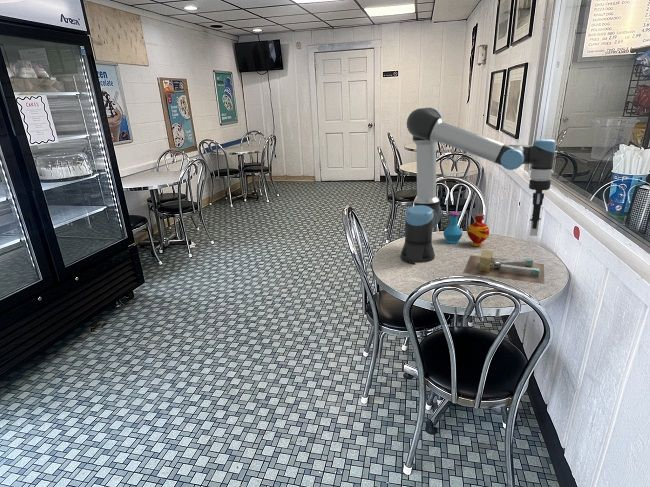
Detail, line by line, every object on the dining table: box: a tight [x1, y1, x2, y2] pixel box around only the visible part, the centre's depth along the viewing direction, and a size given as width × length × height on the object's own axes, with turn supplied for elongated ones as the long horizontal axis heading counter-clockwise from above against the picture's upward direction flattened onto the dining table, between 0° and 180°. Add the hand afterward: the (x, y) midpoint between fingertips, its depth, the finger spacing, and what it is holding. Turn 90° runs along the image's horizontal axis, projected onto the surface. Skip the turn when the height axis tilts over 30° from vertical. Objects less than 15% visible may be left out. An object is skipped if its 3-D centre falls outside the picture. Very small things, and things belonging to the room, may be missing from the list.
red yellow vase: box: [466, 213, 490, 247], centre depth 190 cm, size 10×10×15 cm
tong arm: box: [492, 258, 534, 268], centre depth 161 cm, size 17×4×3 cm, turn 93°
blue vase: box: [442, 211, 463, 244], centre depth 196 cm, size 9×9×15 cm
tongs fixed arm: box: [477, 261, 539, 277], centre depth 158 cm, size 23×4×3 cm, turn 63°
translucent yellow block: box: [479, 249, 494, 272], centre depth 162 cm, size 4×9×6 cm, turn 153°
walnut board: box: [463, 255, 546, 285], centre depth 161 cm, size 29×21×1 cm
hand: (533, 235), depth 165 cm, fingers closed
